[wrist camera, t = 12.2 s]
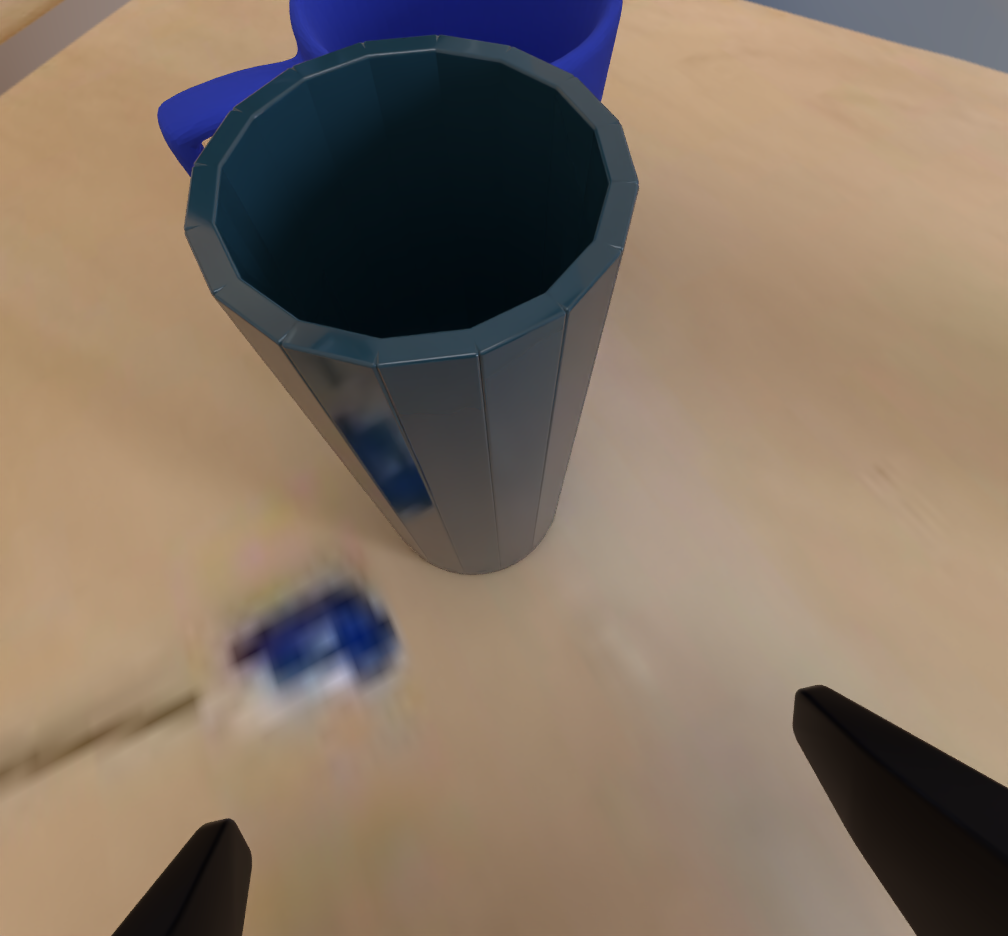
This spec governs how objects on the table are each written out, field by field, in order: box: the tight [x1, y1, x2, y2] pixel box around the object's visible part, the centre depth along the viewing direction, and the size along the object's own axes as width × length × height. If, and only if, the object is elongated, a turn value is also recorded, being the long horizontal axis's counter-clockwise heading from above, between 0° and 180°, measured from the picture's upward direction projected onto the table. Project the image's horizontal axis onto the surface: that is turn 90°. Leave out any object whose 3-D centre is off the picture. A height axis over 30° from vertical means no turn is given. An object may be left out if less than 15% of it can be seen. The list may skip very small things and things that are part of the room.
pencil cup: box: [184, 34, 639, 575], centre depth 13 cm, size 6×6×13 cm
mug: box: [157, 0, 623, 177], centre depth 17 cm, size 8×12×10 cm
